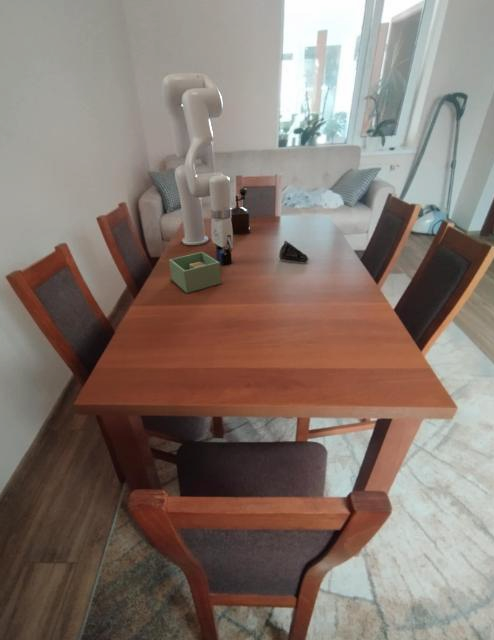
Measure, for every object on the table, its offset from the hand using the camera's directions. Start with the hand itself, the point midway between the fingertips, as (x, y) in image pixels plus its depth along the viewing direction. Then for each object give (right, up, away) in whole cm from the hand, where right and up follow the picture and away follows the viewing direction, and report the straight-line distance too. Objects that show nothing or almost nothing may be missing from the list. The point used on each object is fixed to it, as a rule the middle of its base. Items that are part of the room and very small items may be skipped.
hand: (224, 261), depth 135 cm
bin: (-10, -12, -14) cm, 21 cm away
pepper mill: (+7, +28, +35) cm, 45 cm away
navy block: (0, 0, 0) cm, 0 cm away
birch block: (-9, -10, -12) cm, 18 cm away
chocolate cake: (+29, 0, -1) cm, 29 cm away
